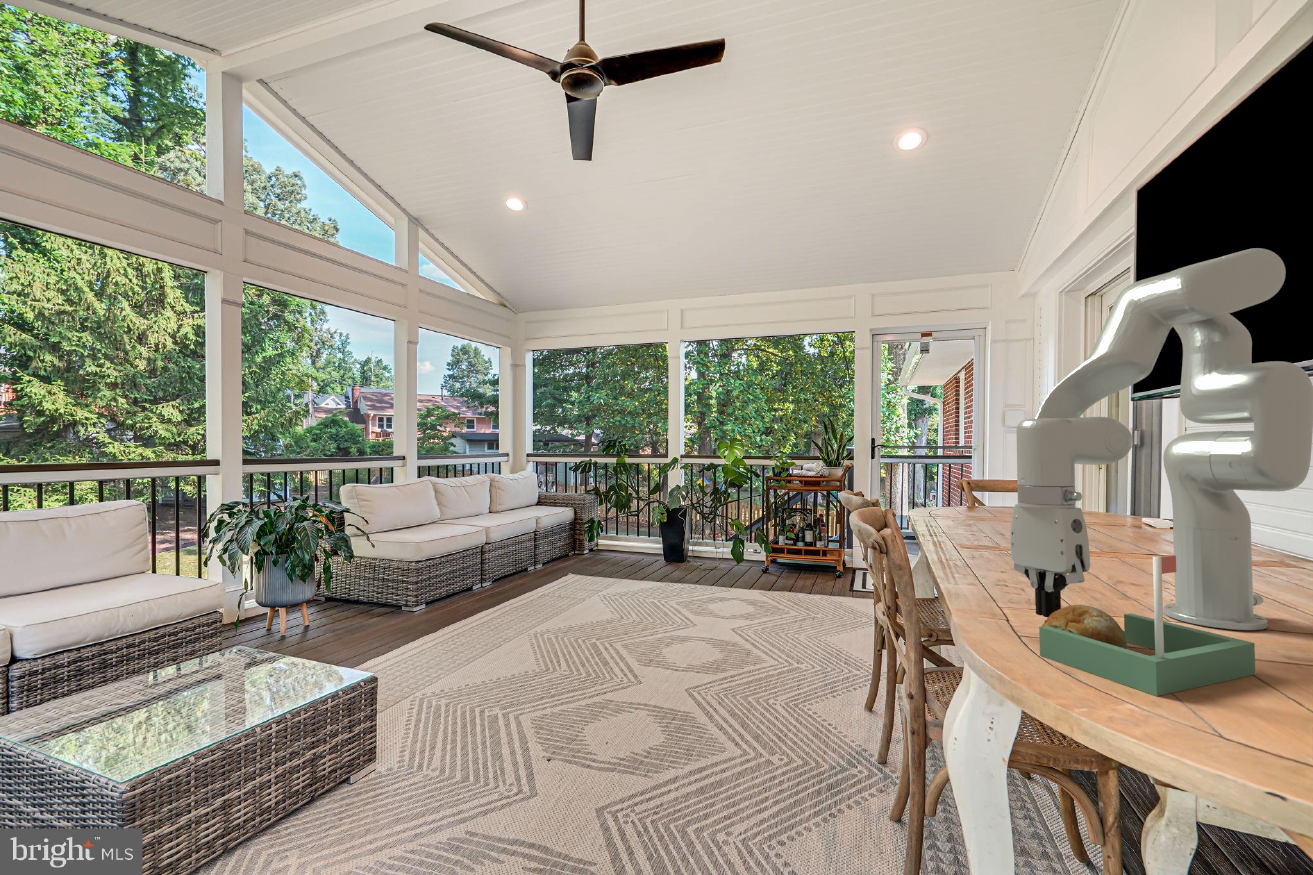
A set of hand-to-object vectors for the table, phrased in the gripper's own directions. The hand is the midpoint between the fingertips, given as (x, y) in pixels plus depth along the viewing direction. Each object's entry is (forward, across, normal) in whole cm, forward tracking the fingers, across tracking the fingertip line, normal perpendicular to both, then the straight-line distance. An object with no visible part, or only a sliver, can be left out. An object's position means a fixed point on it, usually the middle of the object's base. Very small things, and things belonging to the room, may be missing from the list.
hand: (1048, 614), depth 91 cm
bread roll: (+4, -6, +1) cm, 7 cm away
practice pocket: (+3, -12, 0) cm, 13 cm away
